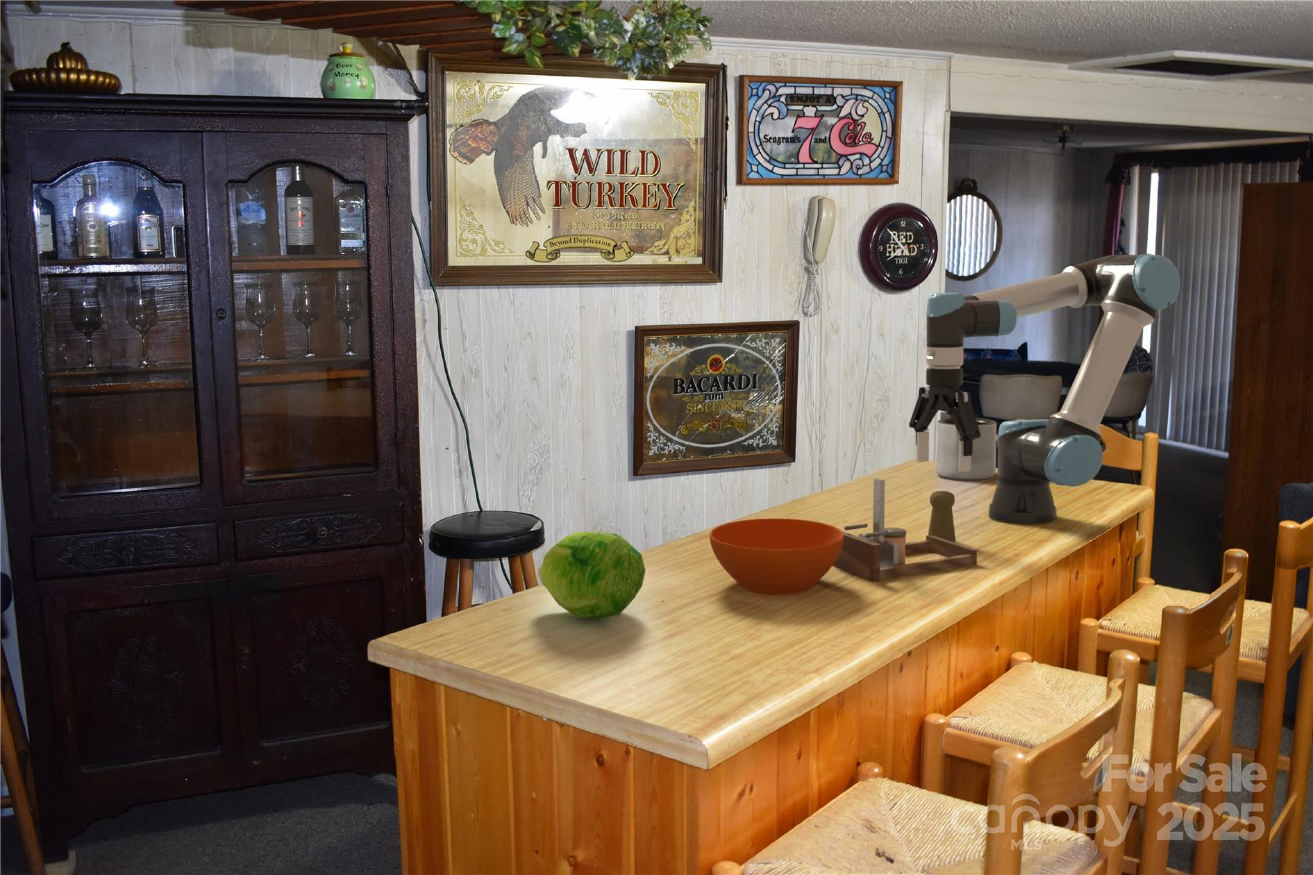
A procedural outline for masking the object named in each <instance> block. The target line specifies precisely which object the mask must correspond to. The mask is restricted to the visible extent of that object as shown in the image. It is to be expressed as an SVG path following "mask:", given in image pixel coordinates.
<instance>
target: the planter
mask: <svg viewBox="0 0 1313 875" xmlns="http://www.w3.org/2000/svg"><path fill="white" fill-rule="evenodd" d="M976 421H977V424H978V427H979V430H980V434H981V437H980V438H976V439H974V440H973V450H972V451H973V454H972V456H971V471H965V472H958V452H959V440H960V439H961V437H960V435H959V433H958V431H957V429H956V427H955V425H954V423H953V421H952V419H951V417H947V418H946V417H945V418H941V419H938V420H937V428H936V431H937V432H936V434H937V435H936V454H935V455H936V456H935V472H936V474H937V475H938V476H939V477H940V478H941V477H942V479H943V478H944V479H947V480H955V481H985V480H989V479H991V478H992V477H994V476H995V475H996V472H997V469H996V468H997V465H996V463H997V460H996V459H997V422H996V420H992V419H990V418H989V419H988V418H983V417H982V418H981V417H976ZM973 433H974V432H973Z"/></svg>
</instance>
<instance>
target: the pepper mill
mask: <svg viewBox="0 0 1313 875" xmlns="http://www.w3.org/2000/svg"><path fill="white" fill-rule="evenodd" d="M955 501H956V500H955V495H954V494H953V493H952V492H950V491H947V490H938V491H933V492H932V493H931V494H930V496H929V504H930V505H931V513H930V520H929V527H928V534H927V535H932V536H935V537H939V538H942V539H945V540H948V541H951V542H954V543H957V542H956V539H957V538H956V530H955V524H954V516H953V515H954V513H953V506H954V505H955Z"/></svg>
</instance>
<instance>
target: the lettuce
mask: <svg viewBox="0 0 1313 875" xmlns="http://www.w3.org/2000/svg"><path fill="white" fill-rule="evenodd" d="M537 572H538V573H537V575H538V577H539V579H540V582H541V584H542V586H544V588H545V589H547V591H548V592H549V594H550V595H551V597H552V598H553V599H554V601H555V603H556V604H557V605H558V606H559V607H561V608H562V609H563V610H565V611H567V612H569V613H570V614H572V615H574V616H575V617H578V618H579V617H580V618H585V619H590V620H595V619H599V620H603V619H606V618H612V617H616V616H619V615H621V614H622V612H624V611H625V610H626V609H627V607H628V606H629V605H630V604H631V603H632V602H633V601H634V600H635V599H636V597H637V595H638V593H639V592H640V591H641V588H642V587H643V584H644V579H645V574H646V568H645V564H644V560H643V555H642V554H641V553H640V552H639V551H638V550H637V549H636V548H635V547H634V546H633V545H632V544H631V543H629V541H628V540H626V539H624V537H622V536H620V535H619V534H617V533H610V532H597V531H596V532H594V531H578V532H573V533H572V534H568V535H566V536H565V537H564V538H562V539H561V540H560V541H558V542H557V543H556V544H554V546H552V547H551V548H550V549H549V550H548V551H547V552H546V553H545V555H544V556H543V559H542V562H541V565H540V566H539V568H538V570H537Z"/></svg>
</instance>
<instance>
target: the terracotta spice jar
mask: <svg viewBox="0 0 1313 875" xmlns="http://www.w3.org/2000/svg"><path fill="white" fill-rule="evenodd" d="M884 531H889V535H884V540H886V541H889V542H892V543H895V544H897V545H899V565H903V564H906V555H905V543H906V540H907V538H906V536H907V530H906V529H905V528H903V527H893V526H892V527H884Z"/></svg>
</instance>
